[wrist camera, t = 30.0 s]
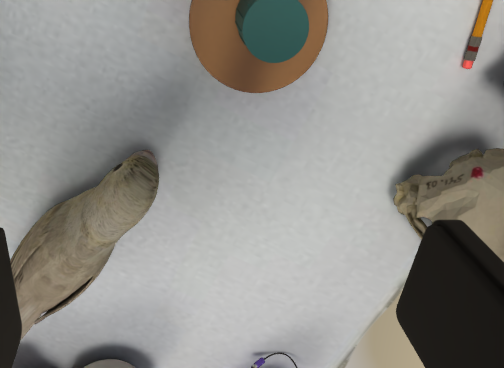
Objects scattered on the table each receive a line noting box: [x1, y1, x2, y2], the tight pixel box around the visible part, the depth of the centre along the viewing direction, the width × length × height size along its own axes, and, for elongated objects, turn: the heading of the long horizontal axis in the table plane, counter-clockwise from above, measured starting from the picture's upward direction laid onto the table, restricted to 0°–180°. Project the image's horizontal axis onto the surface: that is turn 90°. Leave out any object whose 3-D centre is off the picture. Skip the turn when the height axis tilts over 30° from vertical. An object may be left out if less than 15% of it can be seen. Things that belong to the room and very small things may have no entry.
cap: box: [235, 0, 309, 63], centre depth 27 cm, size 4×4×4 cm
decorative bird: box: [10, 150, 159, 339], centre depth 32 cm, size 5×16×7 cm, turn 133°
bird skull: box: [394, 148, 504, 262], centre depth 38 cm, size 25×14×10 cm, turn 52°
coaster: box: [189, 0, 328, 93], centre depth 29 cm, size 9×9×1 cm
